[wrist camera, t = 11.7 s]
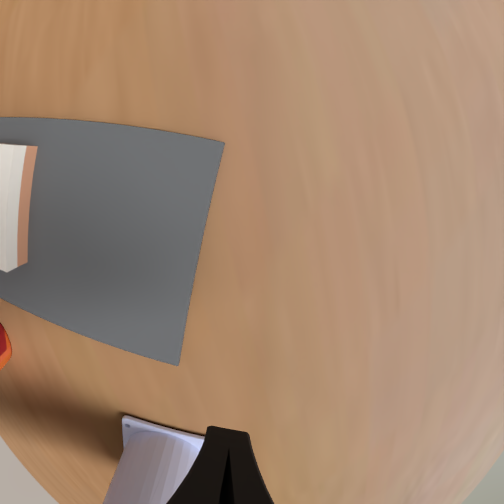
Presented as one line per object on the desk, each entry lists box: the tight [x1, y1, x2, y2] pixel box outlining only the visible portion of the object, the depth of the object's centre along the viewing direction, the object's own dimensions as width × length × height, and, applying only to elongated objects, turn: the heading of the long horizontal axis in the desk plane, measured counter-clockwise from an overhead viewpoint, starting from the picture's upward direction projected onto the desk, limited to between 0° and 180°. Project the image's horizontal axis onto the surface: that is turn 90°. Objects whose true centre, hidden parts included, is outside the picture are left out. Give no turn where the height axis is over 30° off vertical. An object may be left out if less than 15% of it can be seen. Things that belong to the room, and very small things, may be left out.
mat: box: [0, 117, 225, 366], centre depth 16 cm, size 14×20×1 cm
